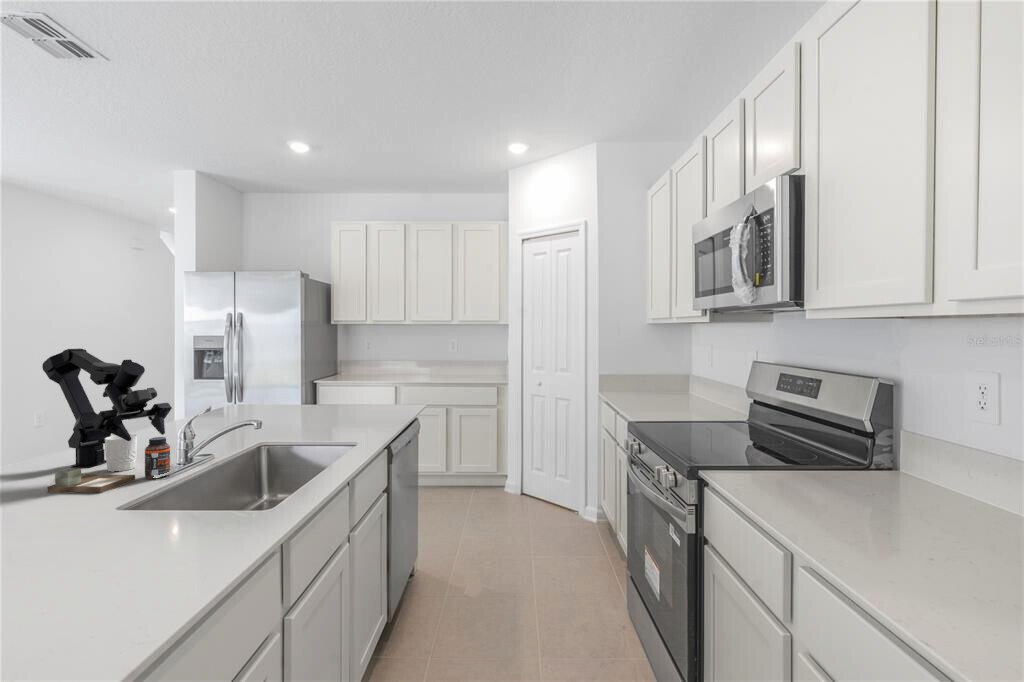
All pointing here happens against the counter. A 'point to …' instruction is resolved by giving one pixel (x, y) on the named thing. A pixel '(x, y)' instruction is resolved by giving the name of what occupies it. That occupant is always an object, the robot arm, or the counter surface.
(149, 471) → the supplement bottle
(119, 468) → the white cup
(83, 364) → the robot arm
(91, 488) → the board
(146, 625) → the counter surface
